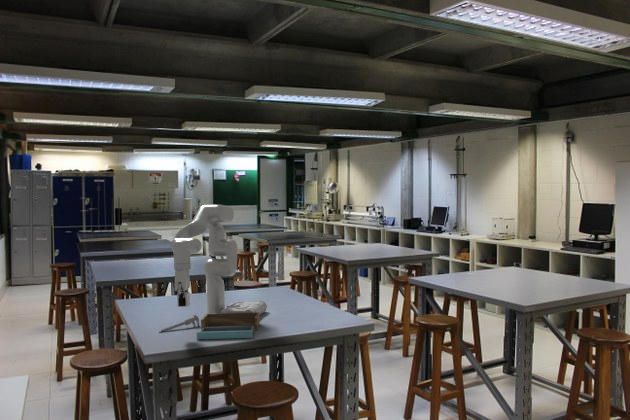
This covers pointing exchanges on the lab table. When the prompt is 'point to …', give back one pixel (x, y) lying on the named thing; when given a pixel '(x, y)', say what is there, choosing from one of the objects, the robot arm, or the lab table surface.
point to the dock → (231, 319)
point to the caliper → (183, 323)
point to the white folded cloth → (245, 307)
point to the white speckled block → (187, 296)
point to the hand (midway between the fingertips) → (183, 304)
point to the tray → (226, 332)
